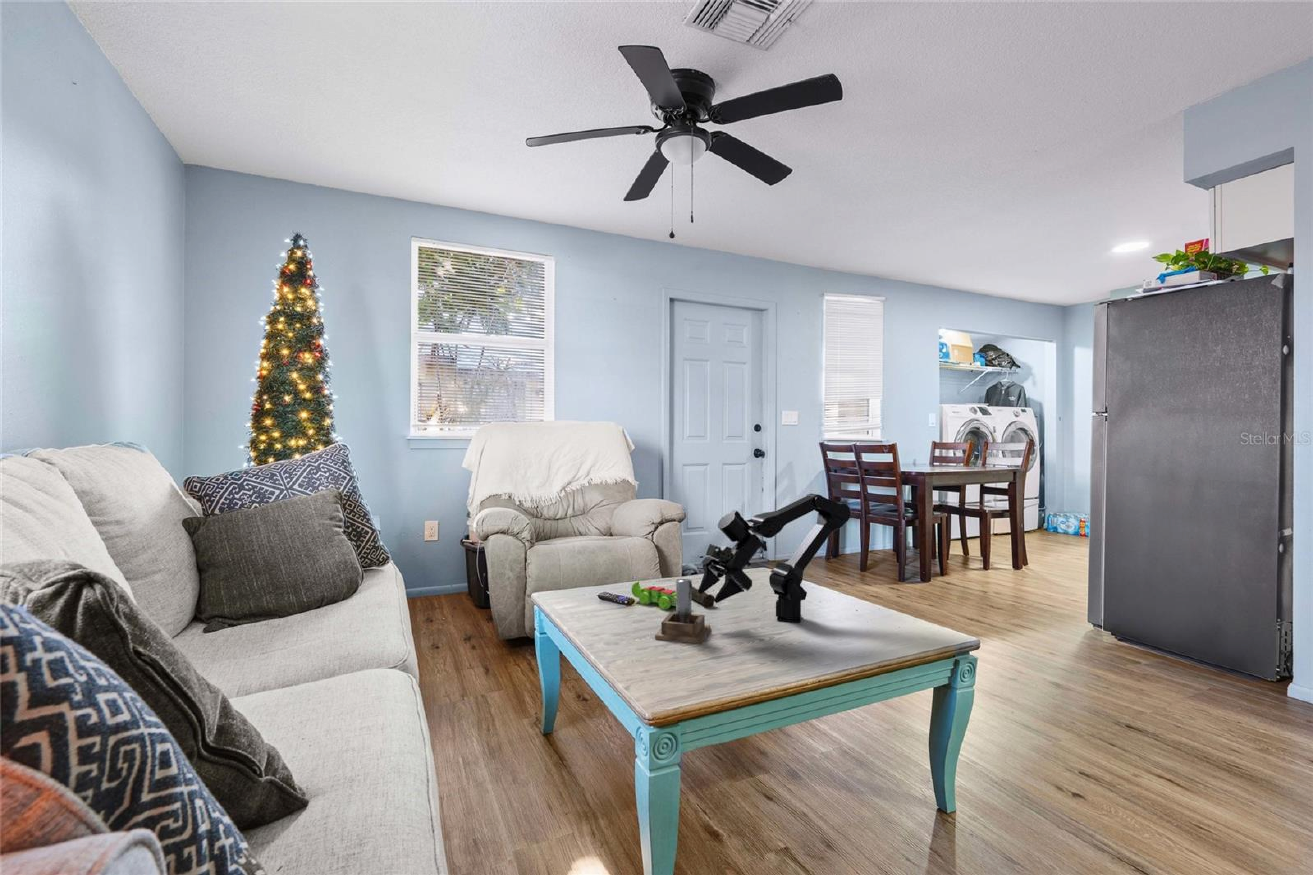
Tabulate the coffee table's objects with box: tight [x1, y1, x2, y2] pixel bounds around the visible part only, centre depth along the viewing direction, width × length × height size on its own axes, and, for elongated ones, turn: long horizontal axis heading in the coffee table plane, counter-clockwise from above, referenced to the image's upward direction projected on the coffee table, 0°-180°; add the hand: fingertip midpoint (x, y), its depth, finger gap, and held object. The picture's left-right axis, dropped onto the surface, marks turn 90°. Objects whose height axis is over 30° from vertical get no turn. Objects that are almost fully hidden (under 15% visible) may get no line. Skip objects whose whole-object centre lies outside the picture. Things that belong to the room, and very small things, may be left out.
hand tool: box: [691, 583, 715, 608], centre depth 190 cm, size 19×4×5 cm, turn 23°
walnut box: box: [654, 611, 711, 645], centre depth 157 cm, size 12×12×4 cm
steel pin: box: [675, 578, 692, 624], centre depth 157 cm, size 4×4×13 cm
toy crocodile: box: [631, 580, 676, 611], centre depth 184 cm, size 20×7×6 cm, turn 52°
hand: (706, 597), depth 160 cm, fingers open, 9 cm apart
